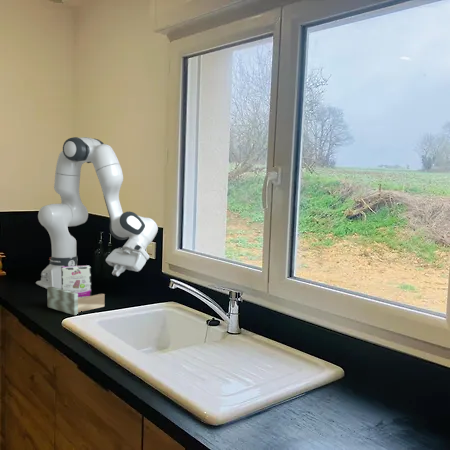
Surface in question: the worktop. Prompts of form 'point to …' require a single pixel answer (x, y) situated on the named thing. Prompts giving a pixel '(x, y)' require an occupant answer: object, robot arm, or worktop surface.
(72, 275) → the candy bar box
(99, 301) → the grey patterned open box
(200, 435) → the worktop surface
